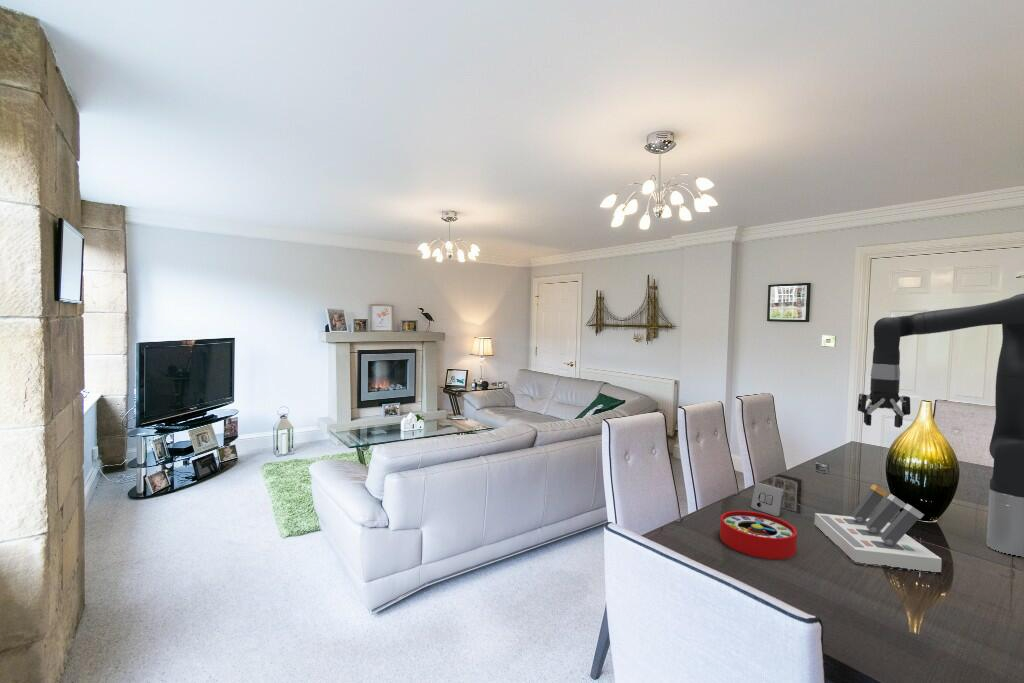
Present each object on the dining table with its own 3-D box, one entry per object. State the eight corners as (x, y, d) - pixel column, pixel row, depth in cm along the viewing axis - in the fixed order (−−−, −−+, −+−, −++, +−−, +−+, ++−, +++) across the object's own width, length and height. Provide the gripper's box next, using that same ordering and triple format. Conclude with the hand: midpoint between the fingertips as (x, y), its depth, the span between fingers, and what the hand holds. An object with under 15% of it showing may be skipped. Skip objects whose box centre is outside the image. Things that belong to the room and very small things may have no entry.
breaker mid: (872, 532, 139) (901, 501, 137) (877, 536, 136) (906, 504, 135) (862, 525, 140) (890, 493, 138) (867, 528, 137) (895, 496, 135)
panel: (884, 532, 149) (885, 518, 149) (940, 574, 123) (941, 557, 123) (814, 525, 153) (815, 512, 153) (854, 564, 127) (855, 548, 127)
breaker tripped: (859, 521, 147) (883, 490, 145) (863, 525, 144) (888, 492, 143) (849, 515, 147) (873, 483, 146) (853, 518, 145) (877, 486, 143)
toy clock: (715, 527, 136) (725, 506, 153) (714, 547, 136) (724, 523, 153) (796, 545, 125) (797, 520, 142) (795, 567, 125) (796, 539, 142)
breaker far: (888, 544, 131) (918, 511, 129) (893, 548, 129) (924, 514, 127) (877, 536, 132) (906, 503, 130) (882, 540, 129) (912, 506, 127)
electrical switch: (750, 508, 166) (752, 482, 166) (757, 507, 169) (760, 481, 169) (777, 517, 159) (780, 490, 159) (785, 516, 162) (787, 489, 162)
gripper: (866, 377, 154) (864, 427, 154) (917, 379, 151) (914, 430, 151) (855, 375, 161) (852, 422, 162) (902, 377, 158) (900, 425, 159)
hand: (882, 426), depth 156 cm, fingers open, 8 cm apart
